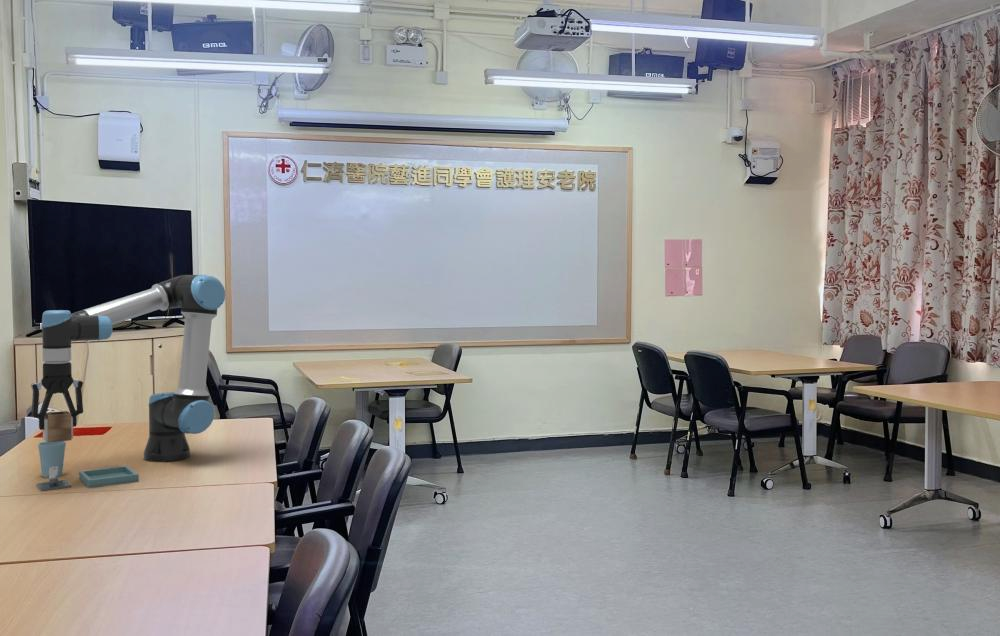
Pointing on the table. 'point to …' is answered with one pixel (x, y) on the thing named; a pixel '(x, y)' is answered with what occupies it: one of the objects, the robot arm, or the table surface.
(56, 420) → the bored block
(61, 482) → the knob mounting plate
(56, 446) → the cup
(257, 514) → the table surface
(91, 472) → the tray
